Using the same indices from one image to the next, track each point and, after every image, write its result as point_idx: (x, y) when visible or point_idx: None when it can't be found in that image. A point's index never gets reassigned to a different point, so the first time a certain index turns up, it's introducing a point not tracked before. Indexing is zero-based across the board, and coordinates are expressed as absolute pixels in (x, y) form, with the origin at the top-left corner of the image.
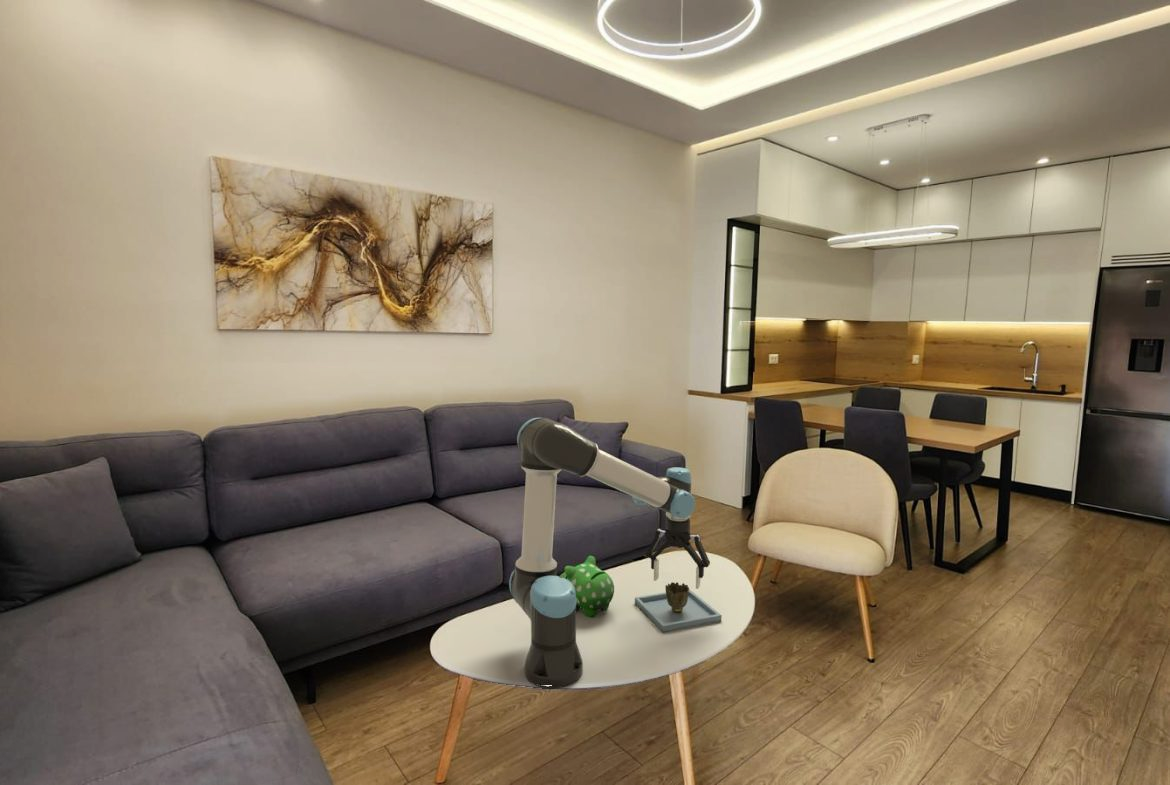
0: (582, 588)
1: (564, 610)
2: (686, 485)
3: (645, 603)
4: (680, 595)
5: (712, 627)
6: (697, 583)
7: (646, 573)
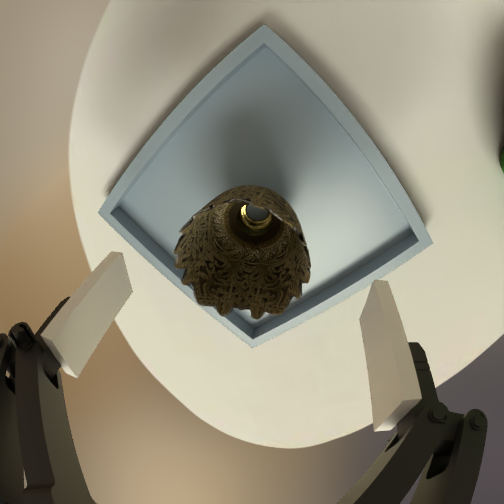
0: None
1: None
2: None
3: (389, 233)
4: (206, 205)
5: (116, 153)
6: (98, 270)
7: None
